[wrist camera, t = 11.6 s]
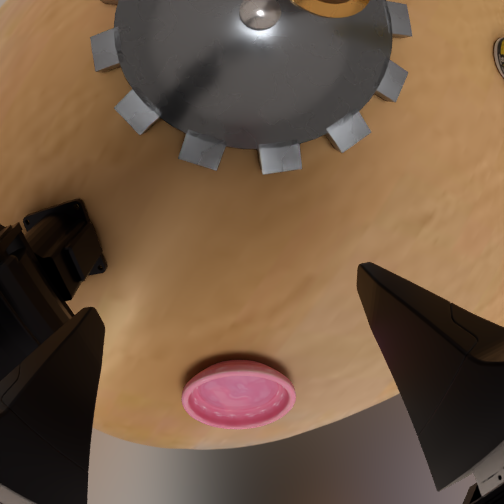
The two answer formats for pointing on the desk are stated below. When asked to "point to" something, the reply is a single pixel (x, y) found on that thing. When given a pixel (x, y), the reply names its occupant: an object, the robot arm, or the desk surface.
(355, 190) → the desk surface
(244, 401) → the saucer
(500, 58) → the supplement bottle
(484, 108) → the desk surface
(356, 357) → the desk surface
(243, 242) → the desk surface
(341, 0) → the pin
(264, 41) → the sprocket plate
